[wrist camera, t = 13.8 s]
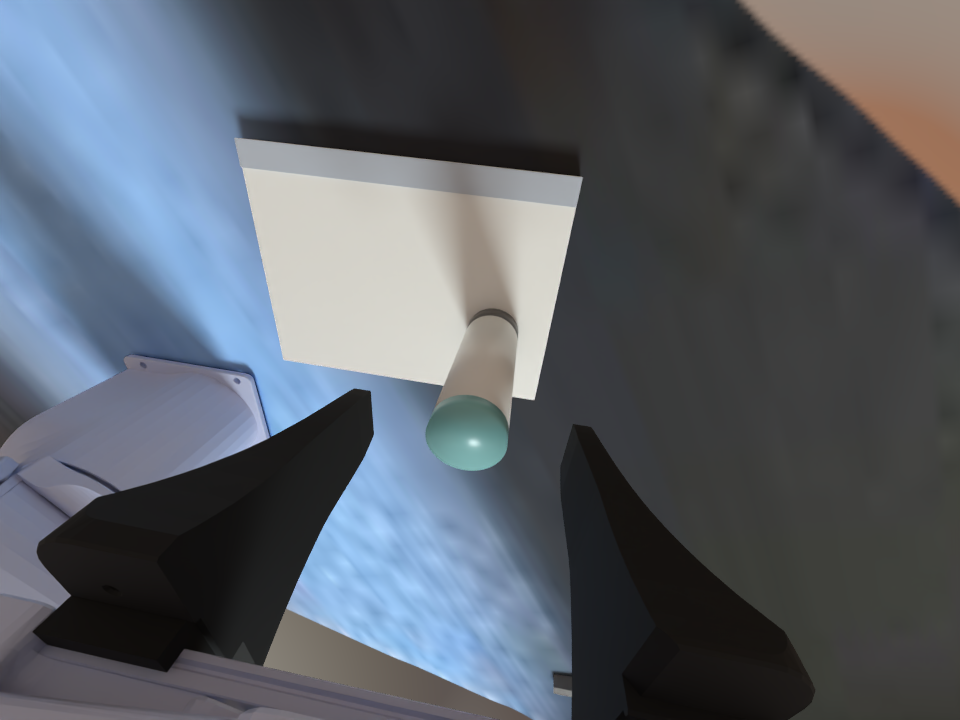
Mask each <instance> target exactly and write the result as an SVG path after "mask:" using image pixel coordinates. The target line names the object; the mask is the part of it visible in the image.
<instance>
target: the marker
mask: <svg viewBox="0 0 960 720" xmlns="http://www.w3.org/2000/svg"><path fill="white" fill-rule="evenodd" d="M517 343H518V326H517V323H516V322H515V320H514V319H513V317H512V316H511V315H509V314H508V313H507V312H505V311H503V310H500V309H495V308H489V309H484V310H482V311H479V312H478V313H476V314H475V315H474V316H473V317H472V319H471V320H470V322H469V325H468V327H467V330H466V332H465V335H464V337H463V340H462V342H461V344H460V347H459V349H458V352H457V354H456V357H455V359H454V361H453V364H452V366H451V369H450V371H449V374H448V376H447V379H446V381H445V383H444V386H443V388H442V391H441V393H440V396H439V398H438V401H437V403H436V405H435V408H434V410H433V413H432V415H431V418H430V420H429V423H428V425H427V428H426V441H427V444H428V446H429V448H430V450H431V451H432V453H433V454H434V455H435V456H436V457H437V458H438V459H439V460H441V461H442V462H444V463H445V464H447V465H449V466H452V467H454V468H457V469H462V470H469V471H475V470H483V469H486V468H489V467H492V466H493V465H495V464H496V463H498V462H499V461H500V460H501V459H502V458H503V456H504V455H505V452H506V449H507V443H508V433H509V423H510V413H511V403H512V393H513V383H514V373H515V363H516V353H517Z"/></svg>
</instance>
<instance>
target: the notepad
mask: <svg viewBox="0 0 960 720" xmlns="http://www.w3.org/2000/svg"><path fill="white" fill-rule="evenodd" d="M235 143H236V148H237V152H238V157H239V162H240V166H241V167H242V168H243V173H244V178H245V182H246V187H247V192H248V196H249V201H250V206H251V210H252V215H253V220H254V224H255V229H256V234H257V238H258V243H259V248H260V252H261V257H262V262H263V266H264V271H265V276H266V280H267V285H268V290H269V294H270V299H271V304H272V308H273V313H274V318H275V322H276V327H277V332H278V336H279V341H280V345H281V350H282V355H283V359H284V360H287V361H294V362H300V363H306V364H312V365H319V366H325V367H331V368H337V369H343V370H350V371H356V372H362V373H368V374H375V375H381V376H387V377H393V378H399V379H406V380H412V381H418V382H424V383H431V384H437V385H443V386H444V383H445V381H446V379H447V376H448V374H449V371H450V369H451V366H452V364H453V361H454V359H455V357H456V354H457V352H458V349H459V347H460V344H461V342H462V340H463V337H464V335H465V332H466V330H467V327H468V325H469V322H470V320H471V319H472V317H473V316H474V315H475V314H476V313H478V312H479V311H482V310H484V309H489V308H495V309H500V310H503V311H505V312H507V313H508V314H509V315H511V316H512V317H513V319H514V320H515V322H516V323H517V326H518V343H517V353H516V363H515V373H514V383H513V393H512V397H518V398H524V399H530V400H534V399H535V395H536V390H537V385H538V381H539V376H540V371H541V367H542V362H543V358H544V353H545V348H546V344H547V339H548V334H549V330H550V325H551V321H552V316H553V311H554V307H555V302H556V297H557V293H558V288H559V284H560V279H561V274H562V270H563V265H564V260H565V256H566V251H567V247H568V242H569V237H570V233H571V228H572V223H573V219H574V214H575V210H576V206H577V202H578V197H579V192H580V188H581V183H582V178H583V177H580V176H571V175H562V174H553V173H544V172H536V171H527V170H518V169H509V168H500V167H492V166H483V165H474V164H465V163H456V162H448V161H439V160H430V159H421V158H412V157H404V156H395V155H386V154H377V153H368V152H360V151H351V150H342V149H333V148H324V147H316V146H307V145H298V144H289V143H280V142H272V141H263V140H254V139H244V138H235Z"/></svg>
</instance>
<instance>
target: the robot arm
mask: <svg viewBox="0 0 960 720" xmlns="http://www.w3.org/2000/svg"><path fill="white" fill-rule="evenodd" d="M124 362H125V365H126V367H127V370H125V371H123V372H121V373H119V374H117V375H115V376H113V377H111V378H109V379H107V380H105V381H103V382H102V383H100V384H98V385H96V386H94V387H92V388H90V389H88V390H86V391H84V392H82V393H80V394H78V395H76V396H74V397H72V398H70V399H68V400H66V401H64V402H62V403H60V404H58V405H56V406H54V407H52V408H50V409H48V410H46V411H44V412H42V413H41V414H39V415H37V416H35V417H33V418H32V419H30V420H28V421H27V422H25V423H24V424H23V425H21V426H20V427H19V428H18V429H17V430H16V431H15V432H14V433H13V434H12V435H11V436H10V437H9V438H8V439H7V440H6V442H5V443H4V444H3V446H2V447H1V449H0V720H498V719H494V718H490V717H485V716H481V715H477V714H472V713H467V712H463V711H459V710H454V709H449V708H445V707H441V706H437V705H432V704H428V703H423V702H419V701H414V700H410V699H405V698H401V697H396V696H392V695H388V694H383V693H379V692H374V691H370V690H366V689H361V688H356V687H352V686H348V685H343V684H338V683H334V682H330V681H325V680H321V679H317V678H312V677H308V676H303V675H298V674H294V673H290V672H286V671H281V670H277V669H272V668H268V667H263V664H264V662H265V659H266V656H267V654H268V651H269V649H270V646H271V644H272V641H273V639H274V636H275V633H276V631H277V629H278V626H279V624H280V621H281V619H282V616H283V614H284V612H285V609H286V607H287V605H288V602H289V600H290V598H291V595H292V593H293V590H294V588H295V586H296V583H297V581H298V579H299V577H300V575H301V572H302V570H303V568H304V566H305V564H306V561H307V559H308V557H309V555H310V553H311V551H312V549H313V546H314V544H315V542H316V540H317V538H318V536H319V534H320V532H321V530H322V528H323V526H324V524H325V522H326V520H327V519H328V517H329V515H330V513H331V511H332V510H333V508H334V507H335V505H336V503H337V502H338V500H339V498H340V497H341V495H342V493H343V492H344V490H345V489H346V487H347V485H348V484H349V482H350V480H351V479H352V477H353V475H354V474H355V472H356V470H357V469H358V467H359V465H360V464H361V462H362V460H363V458H364V456H365V454H366V452H367V449H368V447H369V445H370V442H371V440H372V438H373V435H374V430H373V417H372V403H371V391H367V390H361V389H353V390H351V391H349V392H347V393H346V394H344V395H342V396H341V397H339V398H338V399H336V400H334V401H333V402H331V403H330V404H328V405H326V406H325V407H323V408H321V409H320V410H318V411H317V412H315V413H313V414H312V415H310V416H308V417H307V418H305V419H303V420H301V421H300V422H298V423H296V424H294V425H292V426H291V427H289V428H287V429H285V430H283V431H281V432H280V433H278V434H276V435H274V436H272V437H269V433H268V429H267V426H266V422H265V418H264V415H263V411H262V407H261V404H260V400H259V396H258V393H257V389H256V385H255V382H254V379H253V377H252V376H251V375H249V374H246V373H241V372H235V371H229V370H223V369H217V368H211V367H205V366H198V365H192V364H186V363H180V362H174V361H168V360H162V359H156V358H150V357H144V356H138V355H128V356H126V357H125V358H124ZM560 487H561V502H562V510H563V518H564V526H565V533H566V541H567V549H568V557H569V567H570V586H571V623H572V720H788V719H790V718H791V717H793V716H794V715H796V714H797V713H799V712H800V711H802V710H804V709H805V708H806V707H807V706H808V705H809V704H810V703H811V702H812V700H813V697H814V693H815V688H814V686H813V683H812V681H811V679H810V677H809V675H808V673H807V672H806V670H805V668H804V666H803V664H802V662H801V660H800V658H799V656H798V654H797V652H796V651H795V649H794V647H793V645H792V644H791V642H790V640H789V638H788V637H787V635H786V634H785V632H784V631H783V630H782V629H781V628H779V627H778V626H777V625H775V624H774V623H773V622H772V621H770V620H769V619H768V618H766V617H765V616H764V615H763V614H761V613H760V612H759V611H758V610H756V609H755V608H754V607H752V606H751V605H750V604H749V603H747V602H746V601H745V600H743V599H742V598H741V597H740V596H738V595H737V594H736V593H735V592H734V591H733V590H731V589H730V588H729V587H728V586H727V585H726V584H724V583H723V582H722V581H721V580H720V579H719V578H717V577H716V576H715V575H714V574H713V573H712V572H711V571H709V570H708V569H707V568H706V567H705V566H704V565H703V564H702V563H701V562H700V561H698V560H697V559H696V558H695V557H694V556H693V555H692V554H691V553H690V552H689V551H688V550H687V549H686V548H685V547H684V546H683V545H682V544H681V543H680V542H679V541H678V540H677V539H676V538H675V537H674V536H673V535H672V534H671V533H670V532H669V531H668V530H667V529H666V528H665V527H664V525H663V524H662V523H661V522H660V521H659V520H658V519H657V518H656V517H655V515H654V514H653V513H652V512H651V511H650V510H649V509H648V507H647V506H646V505H645V504H644V503H643V501H642V500H641V499H640V498H639V496H638V495H637V494H636V493H635V491H634V490H633V489H632V487H631V486H630V485H629V483H628V482H627V481H626V479H625V478H624V476H623V475H622V473H621V472H620V471H619V469H618V468H617V466H616V465H615V463H614V462H613V460H612V459H611V457H610V456H609V454H608V453H607V451H606V450H605V448H604V446H603V445H602V443H601V442H600V440H599V438H598V437H597V435H596V434H595V432H594V431H593V429H592V428H591V427H587V426H581V425H575V424H573V426H572V430H571V433H570V436H569V440H568V443H567V446H566V450H565V453H564V456H563V460H562V463H561V467H560Z"/></svg>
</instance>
